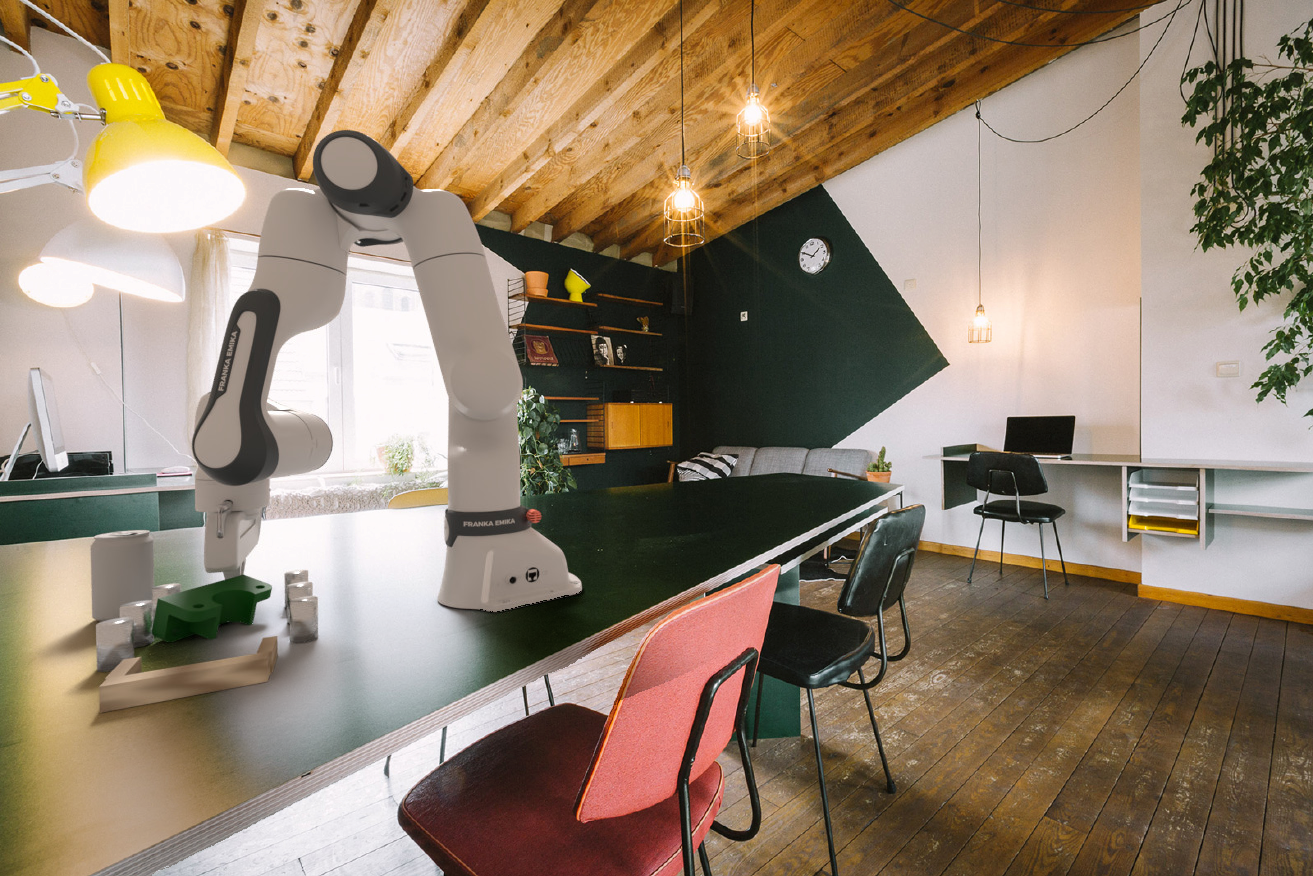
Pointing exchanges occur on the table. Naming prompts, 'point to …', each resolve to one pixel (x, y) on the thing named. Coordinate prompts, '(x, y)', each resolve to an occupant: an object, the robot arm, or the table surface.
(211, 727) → the table surface
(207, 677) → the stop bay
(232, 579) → the clamp
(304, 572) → the spacers
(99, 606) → the beverage can
